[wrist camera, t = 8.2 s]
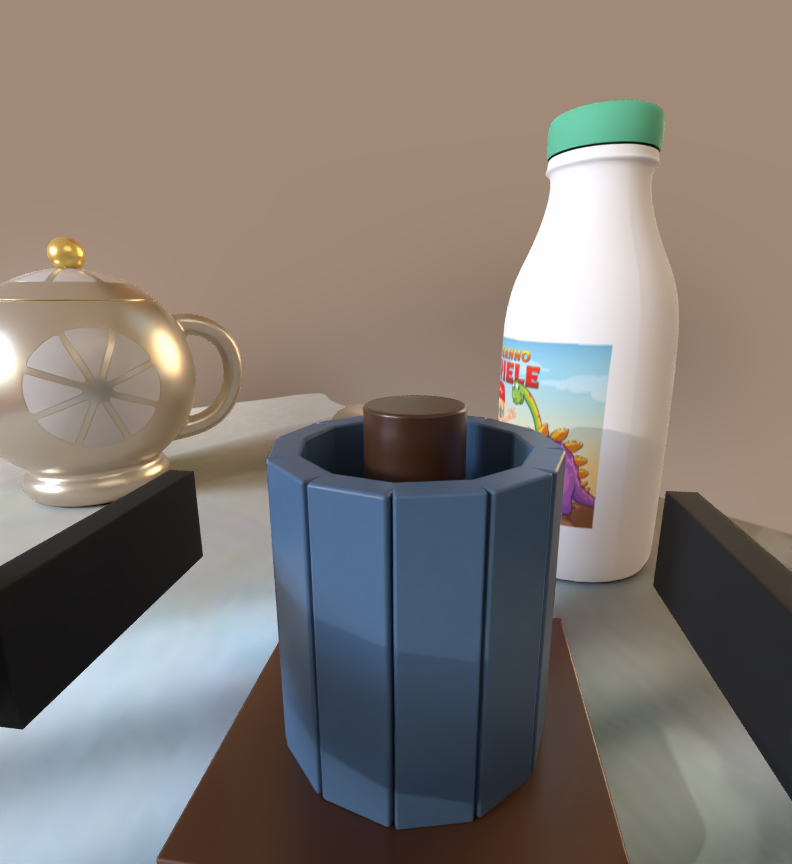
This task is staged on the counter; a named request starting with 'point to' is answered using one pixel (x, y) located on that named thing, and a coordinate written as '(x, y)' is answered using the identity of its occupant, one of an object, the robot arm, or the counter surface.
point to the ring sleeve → (415, 619)
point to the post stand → (387, 846)
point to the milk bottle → (598, 336)
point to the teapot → (98, 381)
